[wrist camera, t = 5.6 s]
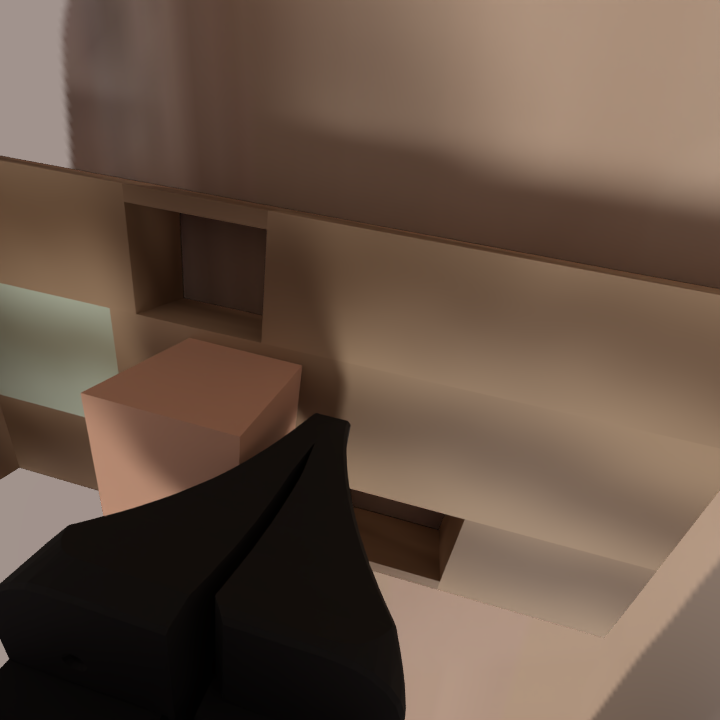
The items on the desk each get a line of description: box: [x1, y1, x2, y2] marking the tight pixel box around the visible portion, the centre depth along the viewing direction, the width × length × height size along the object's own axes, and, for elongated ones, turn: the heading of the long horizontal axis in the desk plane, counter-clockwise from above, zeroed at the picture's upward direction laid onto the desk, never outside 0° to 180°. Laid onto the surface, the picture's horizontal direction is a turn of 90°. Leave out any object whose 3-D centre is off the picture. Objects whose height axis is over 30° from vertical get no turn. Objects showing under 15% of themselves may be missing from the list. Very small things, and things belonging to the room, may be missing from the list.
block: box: [81, 338, 302, 516], centre depth 11 cm, size 4×4×4 cm
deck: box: [0, 156, 720, 638], centre depth 12 cm, size 13×27×6 cm, turn 81°
